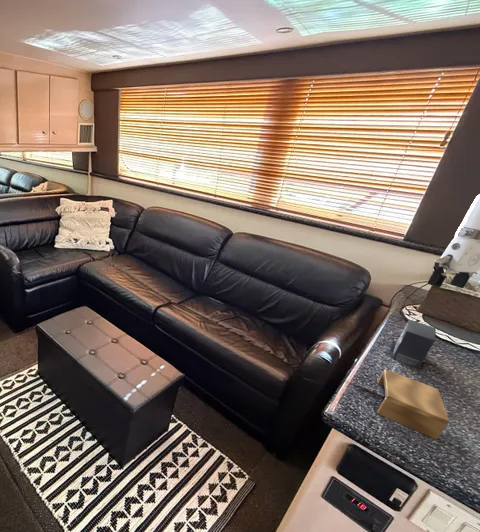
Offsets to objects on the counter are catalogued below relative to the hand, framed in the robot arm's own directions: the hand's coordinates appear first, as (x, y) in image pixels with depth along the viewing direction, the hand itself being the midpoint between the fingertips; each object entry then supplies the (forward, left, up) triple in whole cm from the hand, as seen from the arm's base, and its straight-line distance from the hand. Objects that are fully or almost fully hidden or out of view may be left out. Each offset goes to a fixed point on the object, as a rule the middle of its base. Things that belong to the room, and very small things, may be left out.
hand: (445, 285), depth 102 cm
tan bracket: (+4, +39, -27) cm, 48 cm away
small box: (+1, +4, -27) cm, 27 cm away
